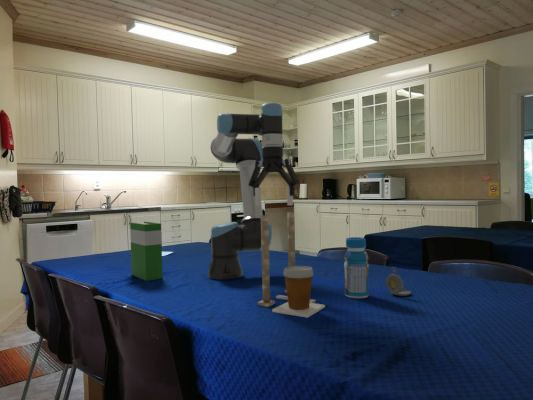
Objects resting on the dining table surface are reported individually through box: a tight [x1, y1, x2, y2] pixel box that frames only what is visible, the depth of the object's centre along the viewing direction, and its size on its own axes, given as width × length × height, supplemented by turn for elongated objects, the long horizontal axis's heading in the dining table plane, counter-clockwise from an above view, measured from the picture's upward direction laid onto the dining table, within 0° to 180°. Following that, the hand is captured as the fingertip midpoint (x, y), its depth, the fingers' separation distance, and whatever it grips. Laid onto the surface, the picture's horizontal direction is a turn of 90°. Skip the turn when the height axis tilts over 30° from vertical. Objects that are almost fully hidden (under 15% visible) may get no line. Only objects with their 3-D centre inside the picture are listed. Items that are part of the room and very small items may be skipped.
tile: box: [271, 301, 326, 318], centre depth 127 cm, size 12×12×1 cm
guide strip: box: [275, 294, 317, 303], centre depth 137 cm, size 14×4×1 cm, turn 58°
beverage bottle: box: [343, 236, 370, 299], centre depth 142 cm, size 8×8×20 cm
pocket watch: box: [385, 266, 412, 297], centre depth 143 cm, size 8×8×10 cm
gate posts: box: [257, 211, 296, 308], centre depth 141 cm, size 4×22×29 cm, turn 148°
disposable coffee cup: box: [282, 265, 315, 310], centre depth 127 cm, size 10×10×12 cm
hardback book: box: [129, 221, 164, 282], centre depth 184 cm, size 18×7×24 cm, turn 38°
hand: (273, 205), depth 150 cm, fingers open, 13 cm apart
